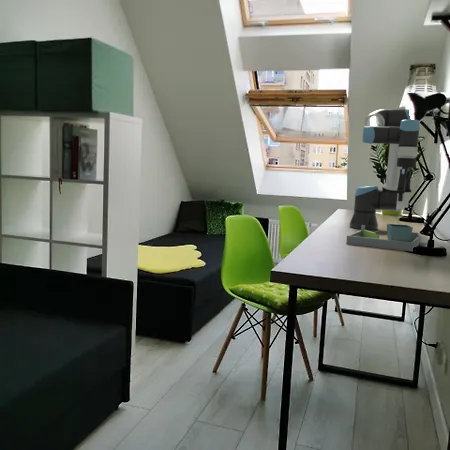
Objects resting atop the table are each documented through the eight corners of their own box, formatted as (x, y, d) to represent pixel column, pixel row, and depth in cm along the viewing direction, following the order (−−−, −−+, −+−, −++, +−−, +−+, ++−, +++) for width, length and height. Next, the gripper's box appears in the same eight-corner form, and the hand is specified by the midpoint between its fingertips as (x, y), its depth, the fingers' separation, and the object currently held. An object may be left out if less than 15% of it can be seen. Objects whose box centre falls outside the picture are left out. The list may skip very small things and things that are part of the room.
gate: (365, 237, 220) (366, 228, 220) (379, 242, 208) (380, 231, 207) (362, 237, 220) (363, 227, 219) (375, 242, 208) (376, 231, 207)
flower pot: (411, 248, 196) (413, 227, 195) (389, 247, 197) (391, 226, 196) (405, 245, 205) (407, 224, 204) (384, 244, 206) (386, 223, 205)
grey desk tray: (359, 237, 223) (360, 224, 222) (420, 244, 210) (421, 230, 210) (346, 243, 202) (347, 229, 201) (412, 251, 189) (414, 236, 188)
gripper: (402, 158, 211) (397, 205, 213) (392, 156, 189) (387, 209, 192) (420, 158, 207) (415, 207, 210) (412, 156, 185) (407, 211, 188)
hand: (402, 208), depth 201 cm, fingers open, 13 cm apart
